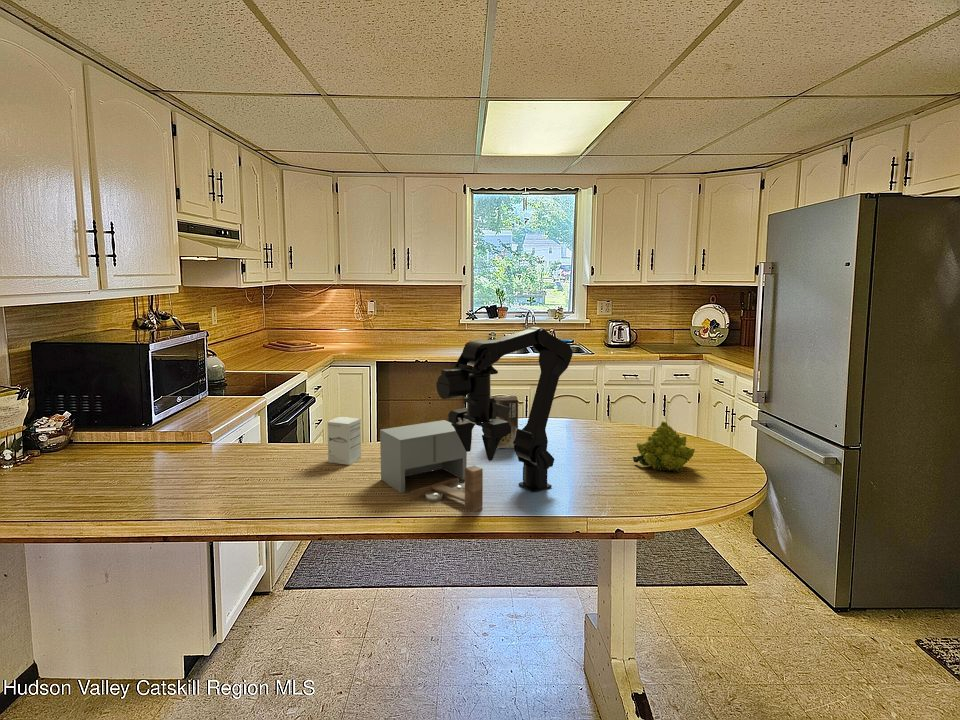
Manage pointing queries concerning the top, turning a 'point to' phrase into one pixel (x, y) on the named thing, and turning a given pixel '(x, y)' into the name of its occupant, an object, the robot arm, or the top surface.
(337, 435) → the supplement box
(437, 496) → the disc left
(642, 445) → the vegetable
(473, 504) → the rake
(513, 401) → the coffee box
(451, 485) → the disc right
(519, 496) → the top surface
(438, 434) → the cabinet
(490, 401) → the robot arm
